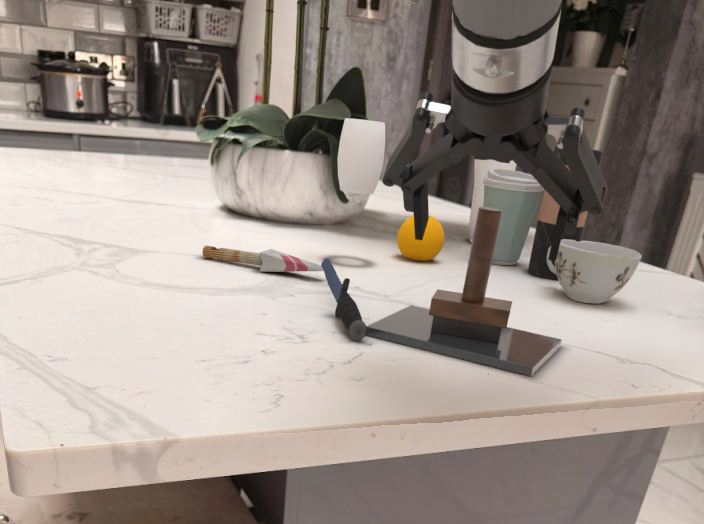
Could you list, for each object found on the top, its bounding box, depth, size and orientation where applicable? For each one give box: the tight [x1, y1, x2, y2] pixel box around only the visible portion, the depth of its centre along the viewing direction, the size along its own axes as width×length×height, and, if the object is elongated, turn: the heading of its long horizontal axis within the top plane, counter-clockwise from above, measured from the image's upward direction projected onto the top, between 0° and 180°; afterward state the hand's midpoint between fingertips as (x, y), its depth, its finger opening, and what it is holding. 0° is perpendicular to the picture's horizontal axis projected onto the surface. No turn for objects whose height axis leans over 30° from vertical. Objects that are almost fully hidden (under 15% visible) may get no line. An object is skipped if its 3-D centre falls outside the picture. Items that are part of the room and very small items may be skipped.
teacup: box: [547, 239, 643, 305], centre depth 117 cm, size 15×12×8 cm
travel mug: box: [527, 145, 603, 281], centre depth 127 cm, size 8×8×20 cm
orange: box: [396, 214, 445, 262], centre depth 131 cm, size 8×8×8 cm
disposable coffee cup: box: [483, 169, 545, 266], centre depth 135 cm, size 11×11×15 cm
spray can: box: [468, 159, 517, 244], centre depth 149 cm, size 12×11×25 cm
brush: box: [429, 207, 513, 343], centre depth 87 cm, size 9×5×14 cm, turn 75°
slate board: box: [365, 304, 563, 377], centre depth 91 cm, size 20×14×1 cm
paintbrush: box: [202, 245, 324, 273], centre depth 113 cm, size 4×3×20 cm
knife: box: [320, 257, 367, 342], centre depth 96 cm, size 24×2×5 cm, turn 10°
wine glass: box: [336, 117, 386, 205], centre depth 120 cm, size 7×7×21 cm
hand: (487, 239), depth 78 cm, fingers open, 13 cm apart
